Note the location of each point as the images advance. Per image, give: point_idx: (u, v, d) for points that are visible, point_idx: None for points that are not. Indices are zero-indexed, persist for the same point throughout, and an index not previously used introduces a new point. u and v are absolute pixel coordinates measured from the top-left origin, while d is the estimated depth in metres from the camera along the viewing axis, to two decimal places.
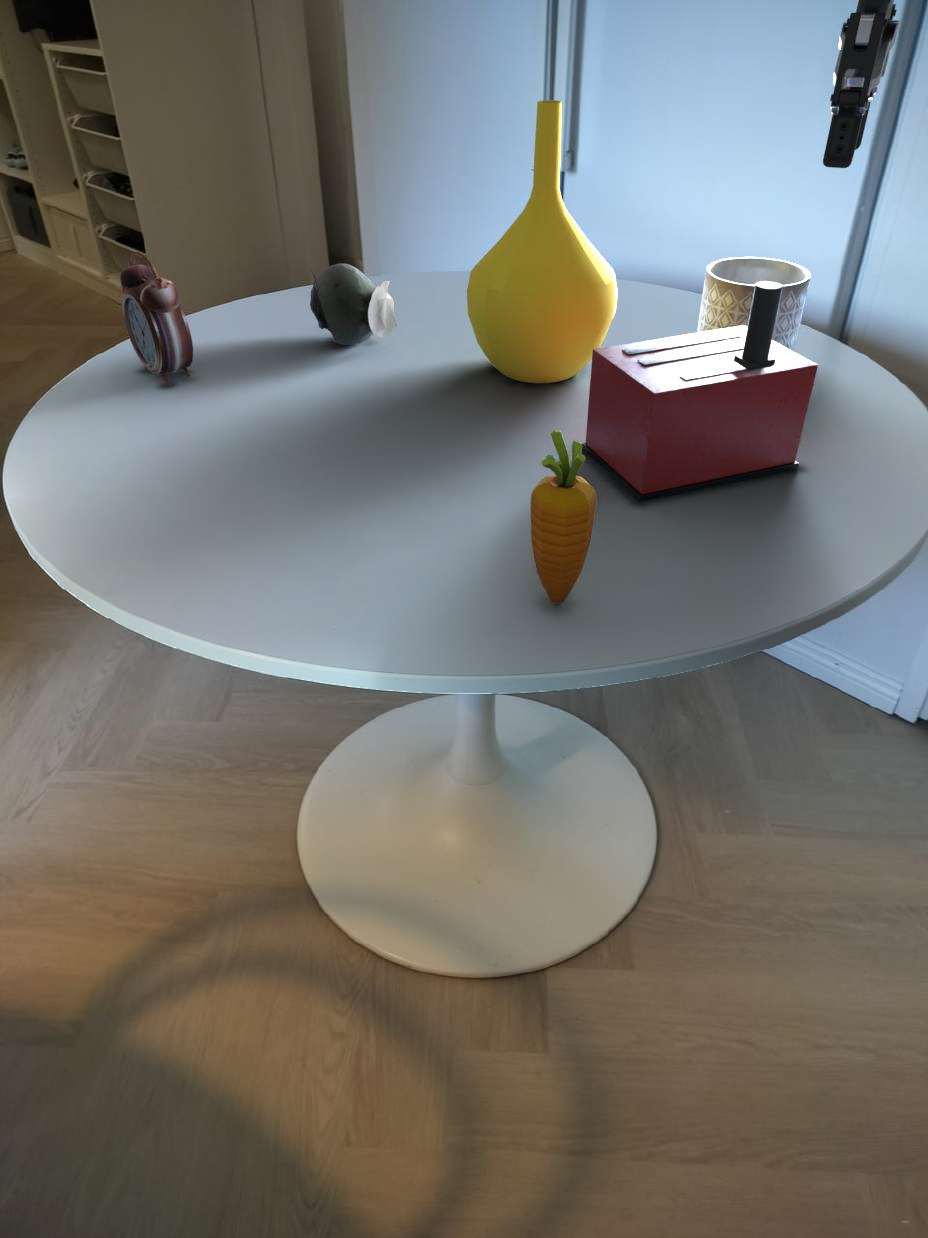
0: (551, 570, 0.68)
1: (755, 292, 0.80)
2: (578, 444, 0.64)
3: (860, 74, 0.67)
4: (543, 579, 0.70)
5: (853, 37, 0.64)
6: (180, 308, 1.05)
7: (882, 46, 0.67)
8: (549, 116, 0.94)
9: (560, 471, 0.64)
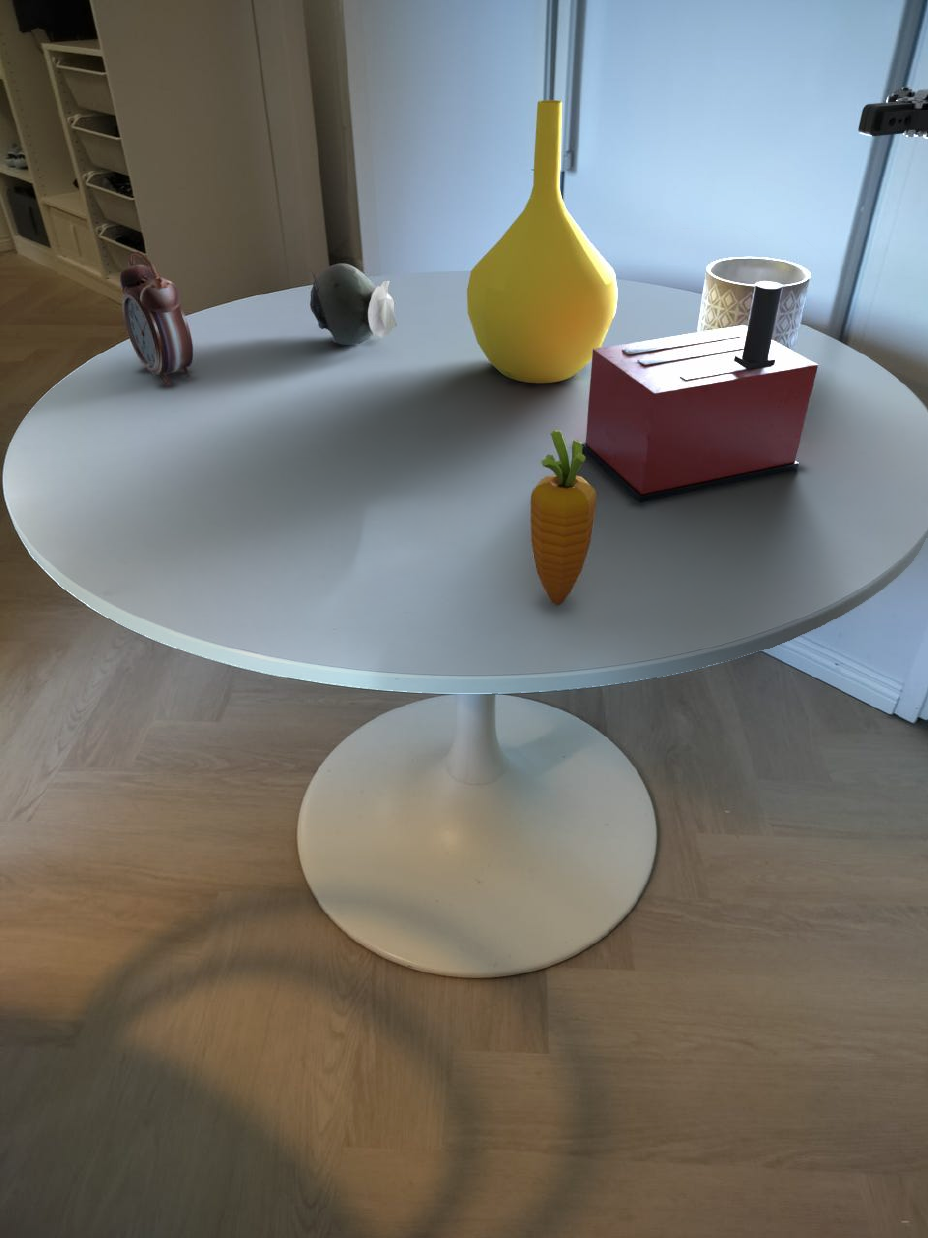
0: (551, 570, 0.68)
1: (755, 292, 0.80)
2: (578, 444, 0.64)
3: None
4: (543, 579, 0.70)
5: None
6: (180, 308, 1.05)
7: None
8: (549, 116, 0.94)
9: (560, 471, 0.64)
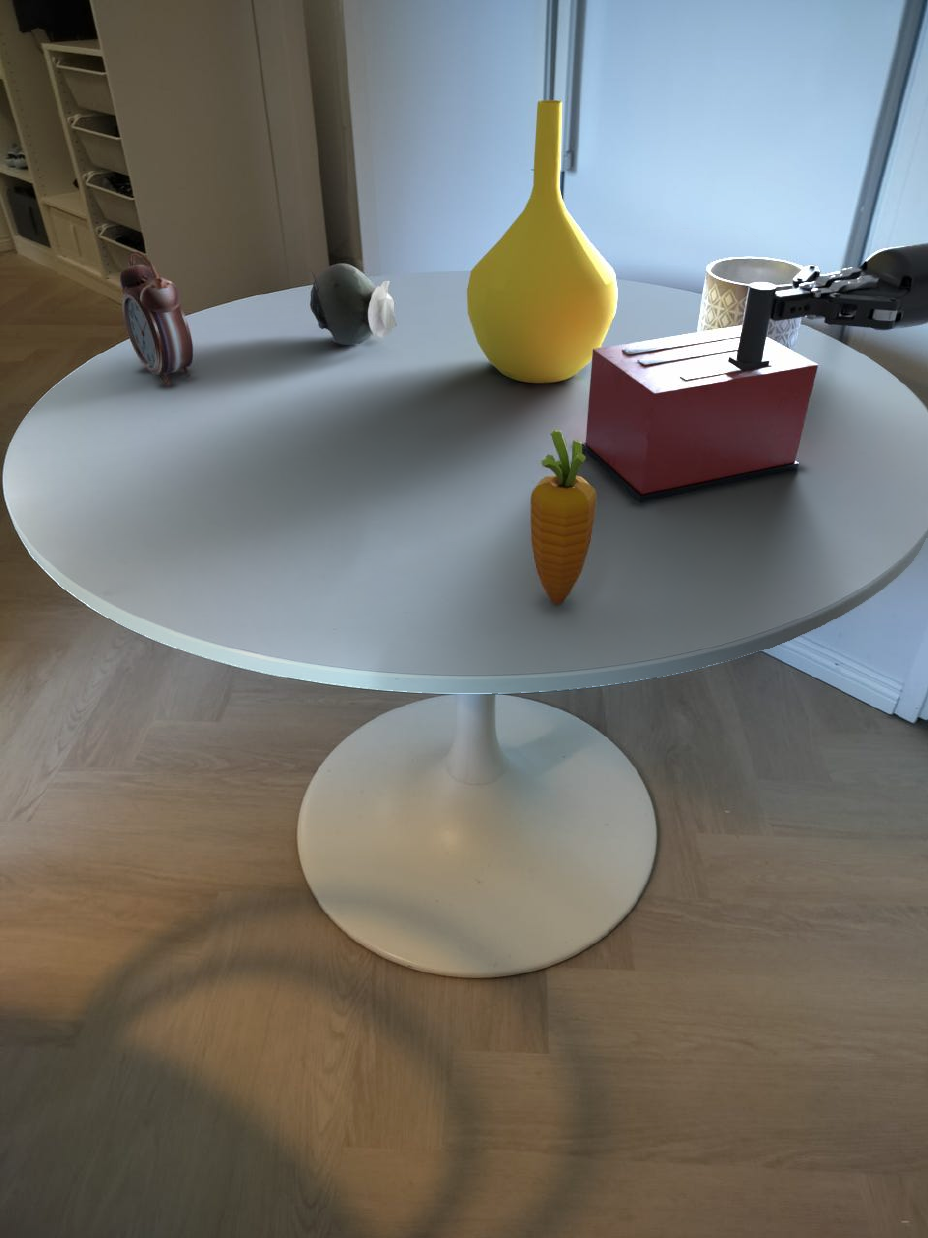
0: (551, 570, 0.68)
1: (749, 293, 0.80)
2: (578, 444, 0.64)
3: None
4: (543, 579, 0.70)
5: (880, 307, 0.79)
6: (180, 308, 1.05)
7: None
8: (549, 116, 0.94)
9: (560, 471, 0.64)
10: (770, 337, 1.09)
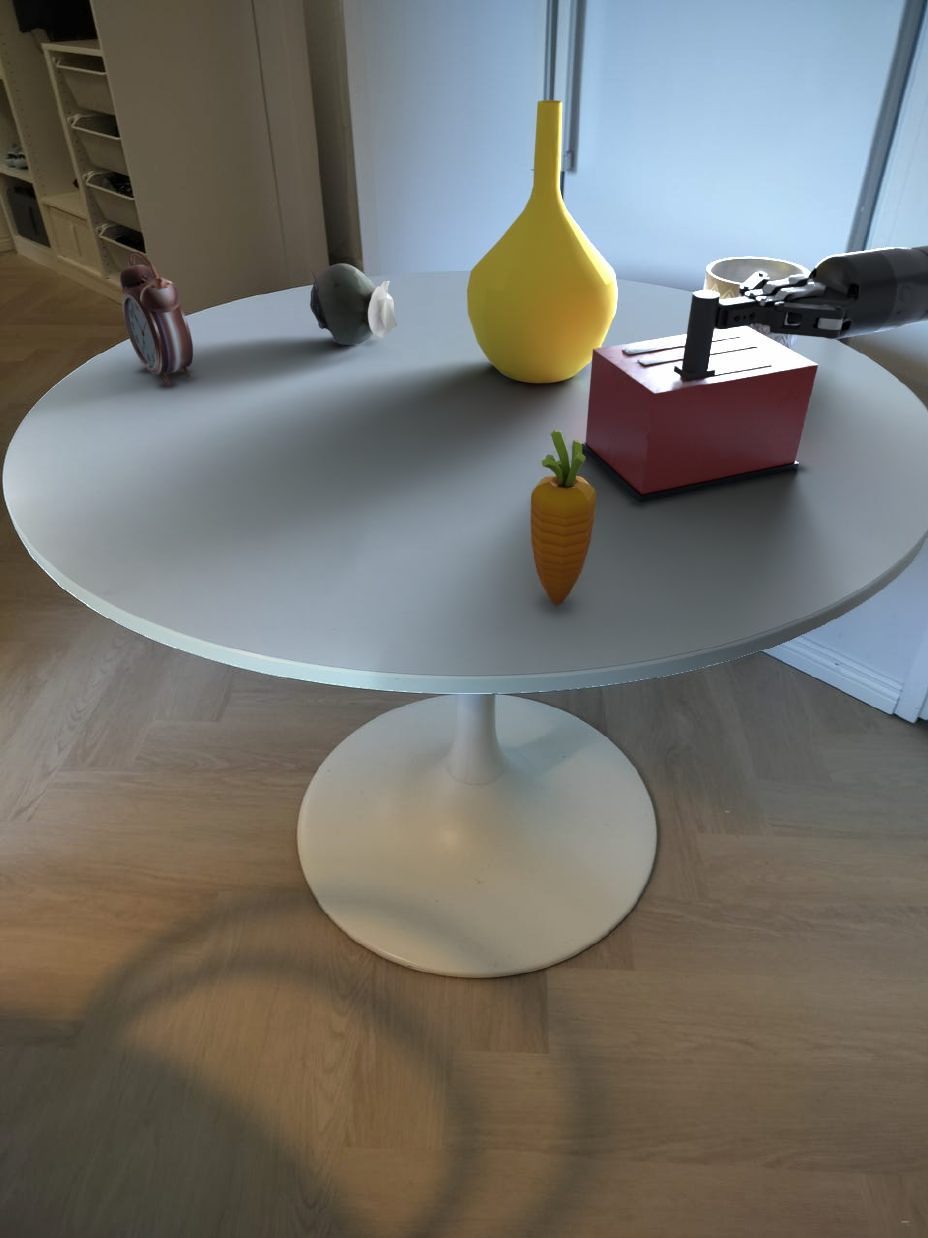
0: (551, 570, 0.68)
1: (692, 301, 0.78)
2: (578, 444, 0.64)
3: None
4: (543, 579, 0.70)
5: (825, 316, 0.77)
6: (180, 308, 1.05)
7: None
8: (549, 116, 0.94)
9: (560, 471, 0.64)
10: (770, 337, 1.09)
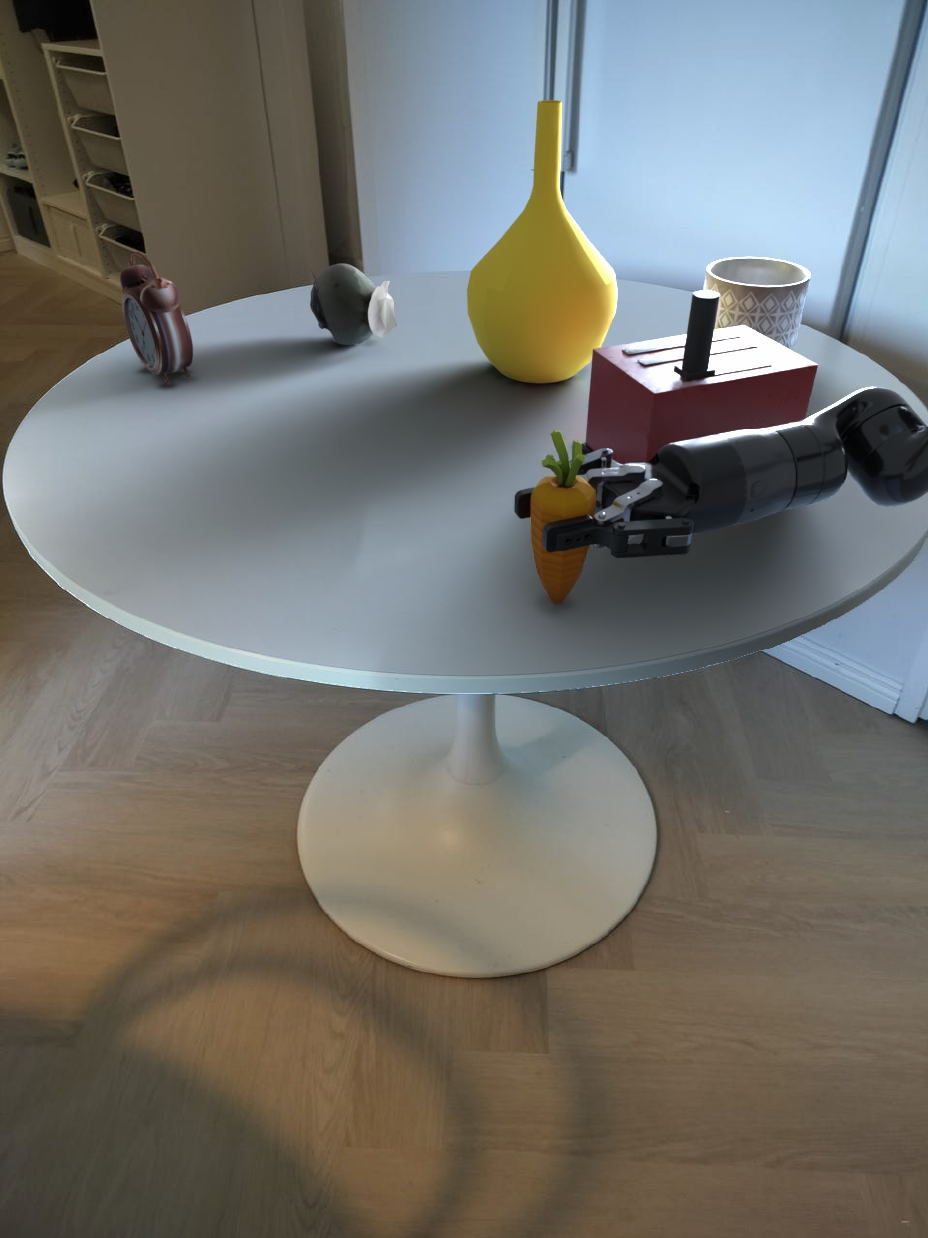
0: (551, 570, 0.68)
1: (692, 301, 0.78)
2: (578, 444, 0.64)
3: None
4: (543, 579, 0.70)
5: (674, 534, 0.64)
6: (180, 308, 1.05)
7: None
8: (549, 116, 0.94)
9: (560, 471, 0.64)
10: (770, 337, 1.09)
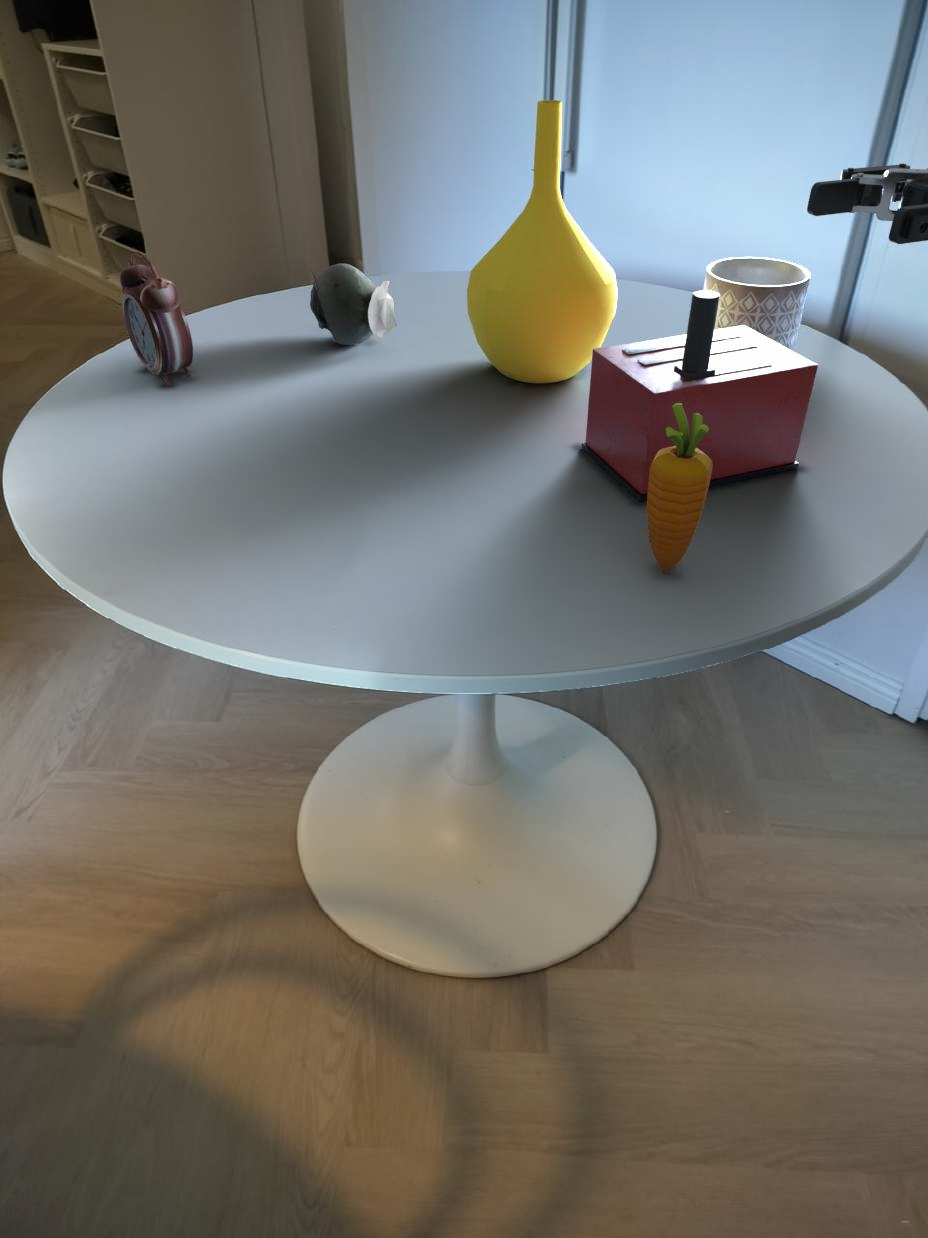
0: (666, 537, 0.72)
1: (692, 301, 0.78)
2: (699, 416, 0.68)
3: None
4: (656, 547, 0.73)
5: None
6: (180, 308, 1.05)
7: None
8: (549, 116, 0.94)
9: (682, 442, 0.68)
10: (770, 337, 1.09)
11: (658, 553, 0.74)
